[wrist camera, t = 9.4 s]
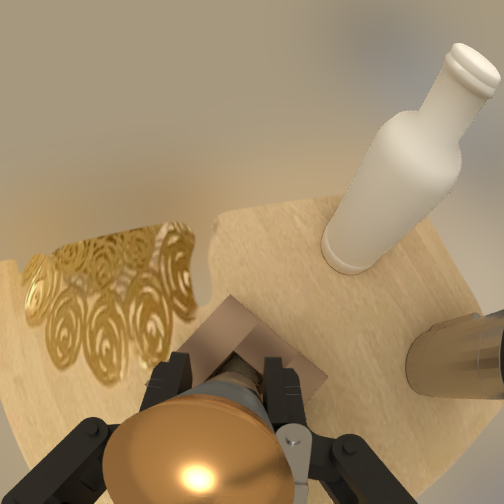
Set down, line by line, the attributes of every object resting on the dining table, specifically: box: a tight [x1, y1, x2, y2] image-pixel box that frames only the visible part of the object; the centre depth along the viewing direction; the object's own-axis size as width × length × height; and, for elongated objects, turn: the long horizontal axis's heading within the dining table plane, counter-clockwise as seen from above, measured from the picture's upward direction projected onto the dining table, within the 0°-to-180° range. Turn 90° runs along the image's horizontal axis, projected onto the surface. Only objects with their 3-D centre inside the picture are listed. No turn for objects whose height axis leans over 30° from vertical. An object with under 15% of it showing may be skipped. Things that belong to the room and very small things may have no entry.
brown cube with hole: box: [145, 294, 328, 405], centre depth 27 cm, size 12×12×8 cm
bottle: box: [321, 43, 501, 275], centre depth 23 cm, size 8×8×30 cm
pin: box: [103, 371, 295, 504], centre depth 10 cm, size 3×3×15 cm
